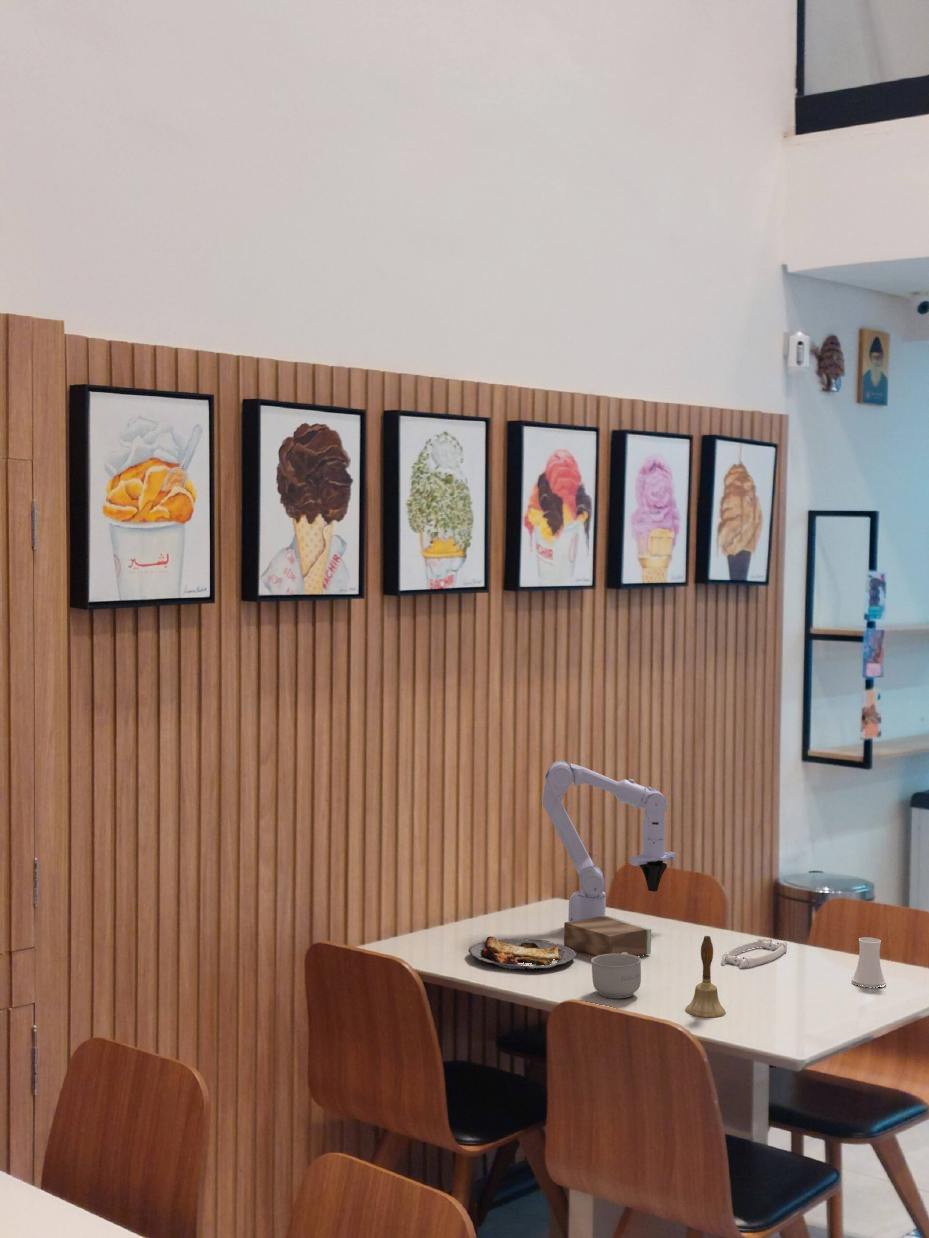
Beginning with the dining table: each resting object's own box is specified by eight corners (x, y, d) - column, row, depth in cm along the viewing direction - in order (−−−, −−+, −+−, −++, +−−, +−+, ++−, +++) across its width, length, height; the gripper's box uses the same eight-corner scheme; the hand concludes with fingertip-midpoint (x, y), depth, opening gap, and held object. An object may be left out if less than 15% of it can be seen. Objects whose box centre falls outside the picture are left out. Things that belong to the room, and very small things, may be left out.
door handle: (796, 952, 352) (750, 972, 332) (760, 945, 358) (712, 964, 338) (797, 941, 352) (750, 960, 332) (760, 934, 358) (712, 953, 338)
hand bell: (730, 1017, 296) (732, 941, 296) (690, 1017, 295) (692, 941, 295) (720, 1005, 304) (721, 931, 304) (681, 1005, 304) (683, 931, 303)
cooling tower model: (876, 978, 328) (877, 935, 328) (891, 988, 321) (893, 943, 320) (845, 979, 327) (847, 935, 326) (860, 988, 319) (861, 944, 319)
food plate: (456, 965, 331) (456, 950, 331) (484, 943, 353) (485, 929, 353) (561, 980, 323) (562, 964, 323) (583, 956, 346) (584, 941, 346)
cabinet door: (599, 939, 357) (600, 915, 357) (606, 938, 358) (607, 914, 358) (647, 954, 343) (647, 929, 343) (654, 953, 345) (654, 928, 345)
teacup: (627, 1005, 303) (628, 967, 303) (581, 996, 309) (582, 959, 309) (654, 989, 315) (655, 953, 315) (610, 981, 321) (611, 946, 321)
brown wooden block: (563, 948, 349) (564, 922, 349) (600, 941, 356) (600, 916, 356) (608, 963, 336) (609, 936, 336) (645, 955, 344) (646, 929, 343)
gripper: (644, 843, 360) (643, 896, 361) (685, 837, 369) (683, 890, 370) (625, 838, 366) (623, 891, 366) (665, 833, 375) (664, 885, 375)
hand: (652, 890), depth 368 cm, fingers closed
